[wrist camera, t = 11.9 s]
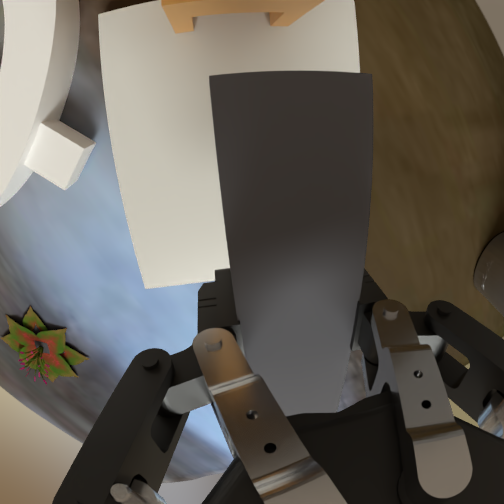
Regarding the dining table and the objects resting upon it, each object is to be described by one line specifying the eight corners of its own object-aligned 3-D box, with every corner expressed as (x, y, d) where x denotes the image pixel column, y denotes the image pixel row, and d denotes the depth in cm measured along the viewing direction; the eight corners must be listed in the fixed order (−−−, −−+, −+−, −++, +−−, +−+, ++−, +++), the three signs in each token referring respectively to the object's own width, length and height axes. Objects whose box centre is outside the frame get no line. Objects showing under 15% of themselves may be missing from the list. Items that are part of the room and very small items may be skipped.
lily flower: (-10, 330, 27) (-25, 355, 23) (28, 285, 25) (10, 313, 21) (57, 387, 33) (49, 414, 29) (108, 358, 31) (100, 389, 27)
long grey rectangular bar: (320, 78, 10) (371, 74, 6) (315, 357, 17) (336, 414, 13) (209, 83, 10) (208, 75, 6) (244, 369, 16) (253, 430, 13)
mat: (345, 2, 17) (353, -2, 16) (347, 252, 28) (353, 260, 27) (104, 18, 16) (98, 14, 14) (147, 279, 26) (145, 288, 25)
